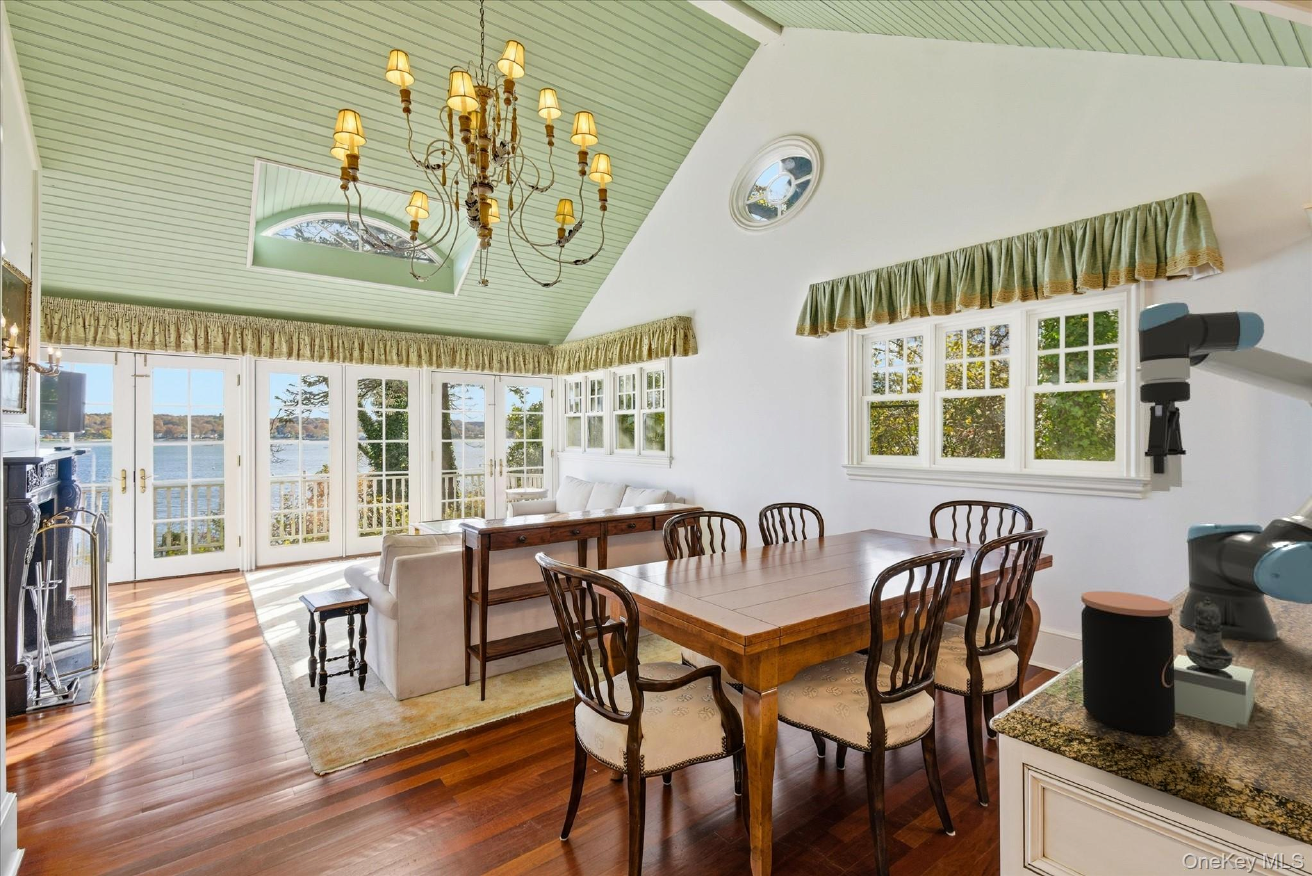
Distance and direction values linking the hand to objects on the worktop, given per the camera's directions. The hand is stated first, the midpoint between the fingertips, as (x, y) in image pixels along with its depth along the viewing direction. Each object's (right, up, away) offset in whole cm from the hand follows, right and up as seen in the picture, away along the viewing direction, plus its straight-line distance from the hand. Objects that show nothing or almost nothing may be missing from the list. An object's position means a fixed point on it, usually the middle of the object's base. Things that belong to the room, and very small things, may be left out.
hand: (1166, 488), depth 116 cm
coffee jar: (-32, -32, -30) cm, 54 cm away
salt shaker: (-15, -27, -25) cm, 40 cm away
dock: (-15, -32, -25) cm, 43 cm away
